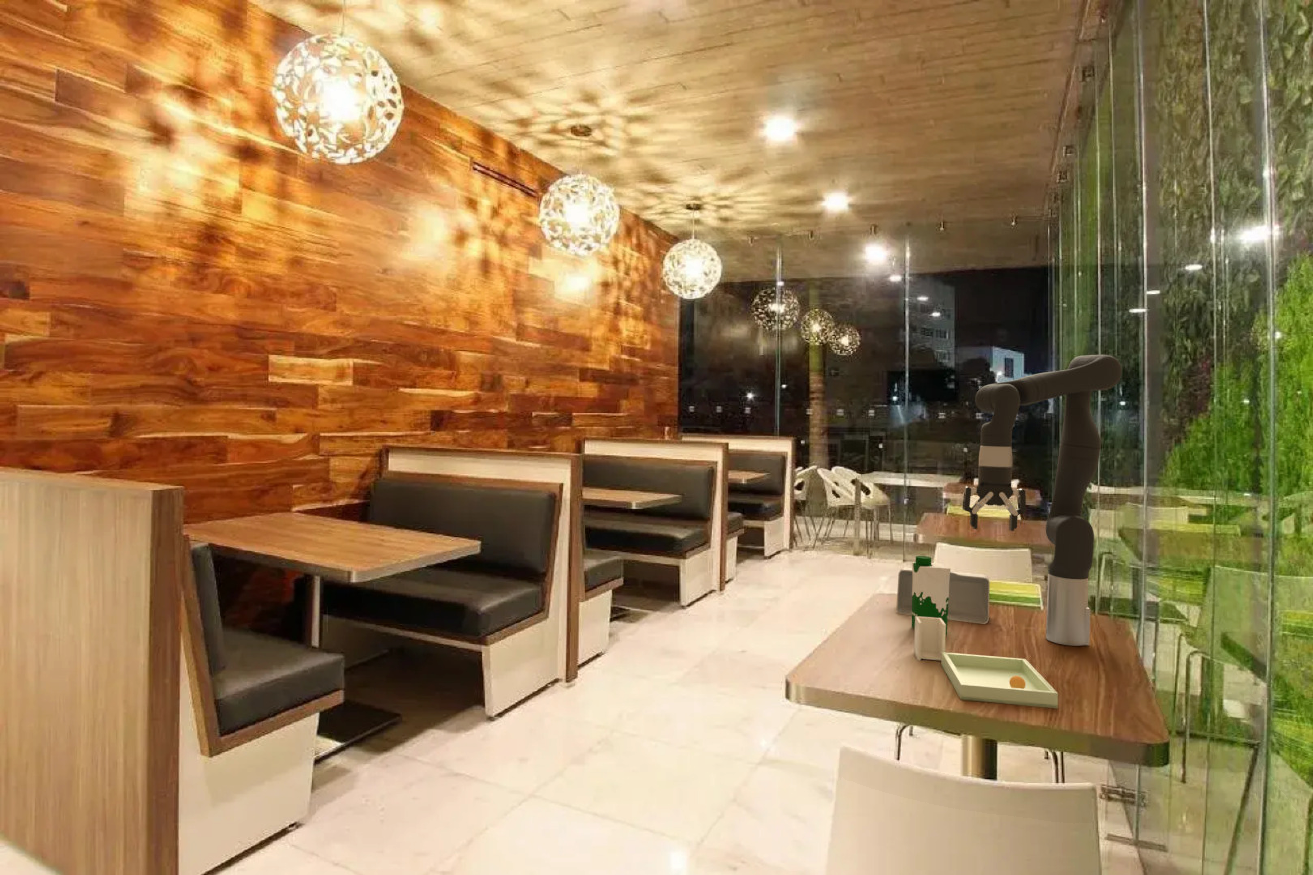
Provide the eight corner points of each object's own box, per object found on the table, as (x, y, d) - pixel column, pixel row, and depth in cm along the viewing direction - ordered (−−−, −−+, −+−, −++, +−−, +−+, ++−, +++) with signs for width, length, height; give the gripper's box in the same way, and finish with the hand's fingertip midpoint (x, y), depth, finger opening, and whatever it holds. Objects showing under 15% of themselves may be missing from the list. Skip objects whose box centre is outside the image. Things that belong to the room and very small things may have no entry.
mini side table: (913, 652, 179) (915, 616, 178) (939, 655, 177) (941, 618, 177) (917, 660, 173) (918, 622, 173) (944, 662, 172) (945, 624, 171)
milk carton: (907, 625, 203) (909, 554, 203) (940, 626, 203) (942, 555, 203) (917, 634, 195) (920, 559, 194) (952, 635, 194) (954, 560, 194)
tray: (1025, 672, 166) (1025, 659, 166) (1057, 708, 145) (1058, 693, 145) (941, 664, 170) (941, 652, 170) (960, 699, 148) (961, 684, 148)
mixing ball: (1014, 681, 155) (1004, 685, 154) (1018, 671, 154) (1008, 675, 152) (1026, 691, 153) (1016, 695, 151) (1030, 681, 151) (1020, 685, 150)
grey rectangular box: (987, 612, 222) (988, 571, 222) (988, 624, 207) (990, 580, 207) (900, 602, 232) (902, 563, 231) (896, 613, 217) (897, 571, 217)
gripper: (1021, 464, 184) (1019, 529, 184) (961, 463, 187) (959, 526, 187) (1030, 466, 177) (1028, 533, 177) (967, 464, 180) (965, 530, 180)
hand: (993, 529), depth 182 cm, fingers open, 8 cm apart
